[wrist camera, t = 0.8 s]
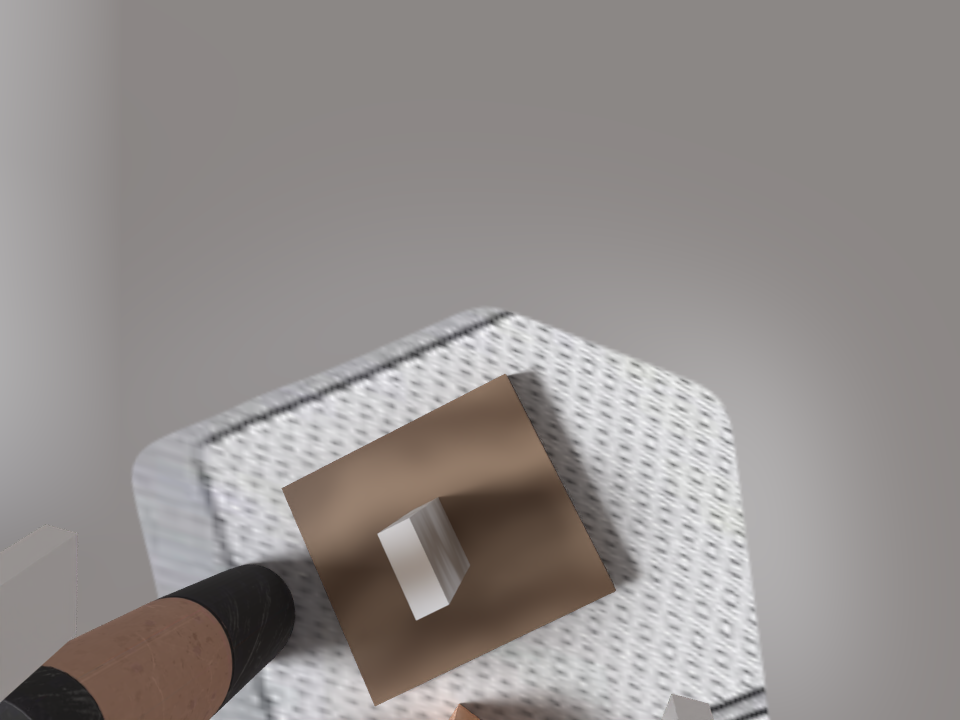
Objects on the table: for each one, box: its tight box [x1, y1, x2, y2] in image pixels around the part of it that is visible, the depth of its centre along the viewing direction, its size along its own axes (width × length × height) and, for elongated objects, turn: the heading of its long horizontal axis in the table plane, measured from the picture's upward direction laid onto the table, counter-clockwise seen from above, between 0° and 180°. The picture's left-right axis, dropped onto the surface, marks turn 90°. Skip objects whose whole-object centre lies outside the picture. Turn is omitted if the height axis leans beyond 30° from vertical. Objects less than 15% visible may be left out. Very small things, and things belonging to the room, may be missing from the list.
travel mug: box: [0, 565, 295, 720], centre depth 31 cm, size 8×8×20 cm
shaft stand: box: [282, 374, 616, 706], centre depth 35 cm, size 16×18×10 cm
